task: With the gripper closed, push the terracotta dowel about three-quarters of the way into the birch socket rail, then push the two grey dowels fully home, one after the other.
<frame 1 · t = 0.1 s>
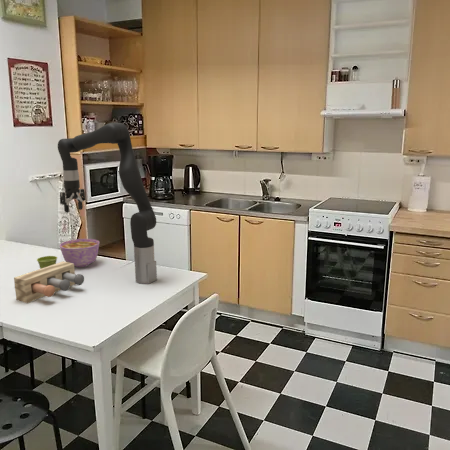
hand: (73, 210, 234), 29 cm above the table, fingers open, 8 cm apart
socket rail: (47, 291, 205), on the table
dowel grey a: (71, 277, 207), point 5 cm above the table, slide at 0.0 cm
plant pot: (48, 275, 227), on the table
bowl of food: (81, 265, 243), on the table
dowel terracotta: (41, 288, 194), point 5 cm above the table, slide at 0.0 cm
dowel grey b: (57, 283, 201), point 5 cm above the table, slide at 0.0 cm
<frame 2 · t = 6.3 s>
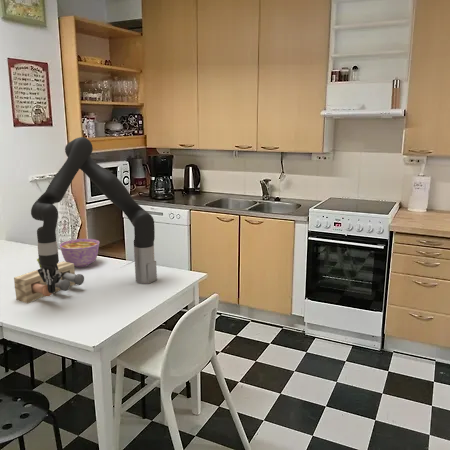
hand: (51, 292, 191), 5 cm above the table, fingers closed
dowel terracotta: (40, 288, 194), point 5 cm above the table, slide at 1.0 cm, touching gripper
everything else where it was.
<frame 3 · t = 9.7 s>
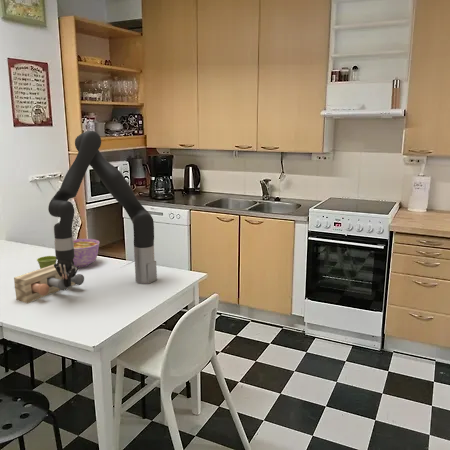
hand: (67, 286, 197), 5 cm above the table, fingers closed
dowel terracotta: (35, 287, 196), point 5 cm above the table, slide at 3.7 cm
dowel grey b: (55, 282, 201), point 5 cm above the table, slide at 0.7 cm, touching gripper
everything else where it was.
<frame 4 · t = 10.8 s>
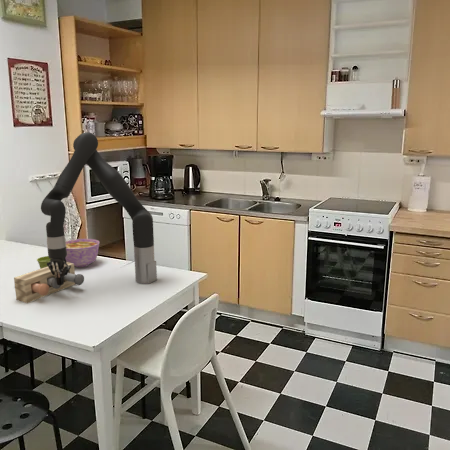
hand: (60, 284, 199), 5 cm above the table, fingers closed
dowel grey b: (49, 281, 203), point 5 cm above the table, slide at 5.1 cm, touching gripper
everything else where it was.
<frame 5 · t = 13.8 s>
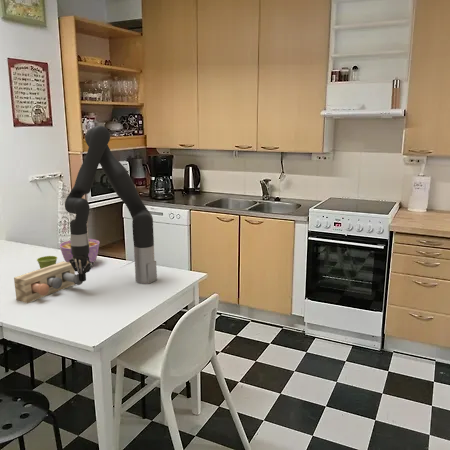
hand: (82, 281, 204), 5 cm above the table, fingers closed
dowel grey a: (71, 277, 207), point 5 cm above the table, slide at 0.3 cm, touching gripper
dowel grey b: (49, 281, 203), point 5 cm above the table, slide at 5.0 cm
everything else where it was.
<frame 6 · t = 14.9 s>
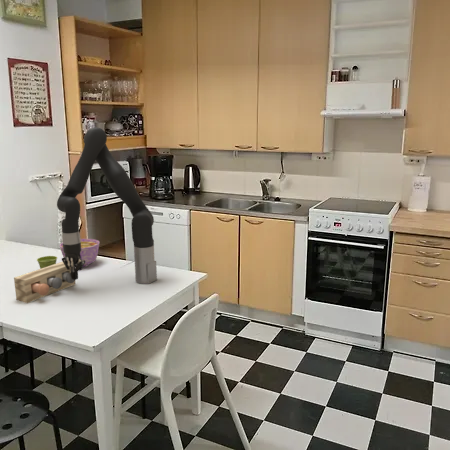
hand: (74, 279, 206), 5 cm above the table, fingers closed
dowel grey a: (63, 275, 210), point 5 cm above the table, slide at 5.1 cm, touching gripper
everything else where it was.
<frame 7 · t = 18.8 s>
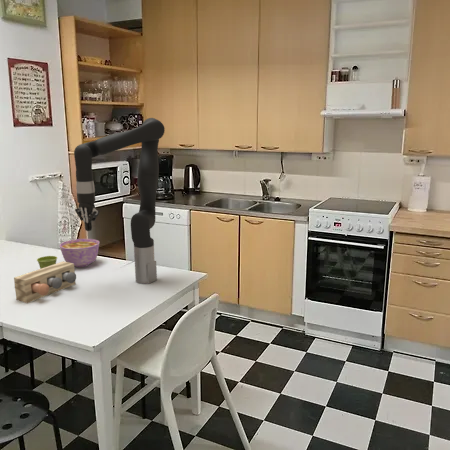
hand: (88, 230, 203), 27 cm above the table, fingers closed
dowel grey a: (63, 275, 210), point 5 cm above the table, slide at 5.0 cm
everything else where it was.
at the end: dowel grey a slide at 5.0 cm; dowel grey b slide at 5.0 cm; dowel terracotta slide at 3.7 cm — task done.
